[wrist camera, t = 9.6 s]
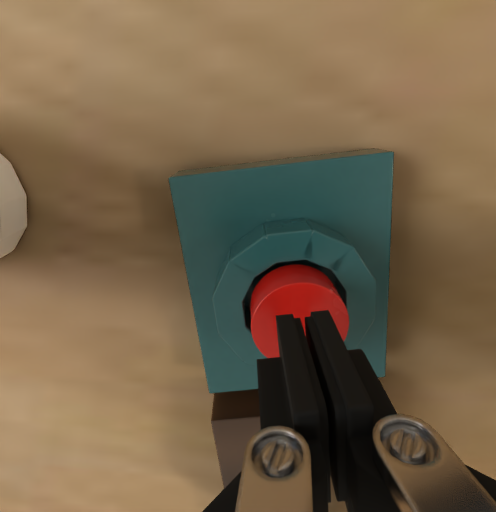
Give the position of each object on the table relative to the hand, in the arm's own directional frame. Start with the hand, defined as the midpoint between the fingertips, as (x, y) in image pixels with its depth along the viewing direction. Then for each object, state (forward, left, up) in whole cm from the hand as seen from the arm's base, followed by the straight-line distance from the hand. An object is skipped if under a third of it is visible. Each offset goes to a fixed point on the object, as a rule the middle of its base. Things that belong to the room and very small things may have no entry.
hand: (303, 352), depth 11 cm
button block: (0, 0, -7) cm, 7 cm away
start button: (0, 0, -3) cm, 3 cm away
